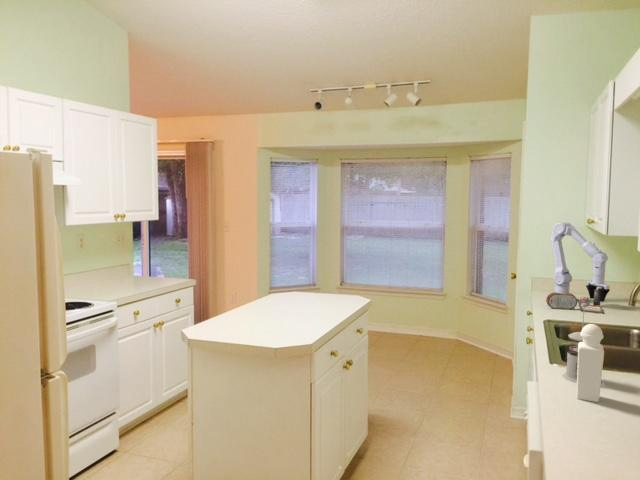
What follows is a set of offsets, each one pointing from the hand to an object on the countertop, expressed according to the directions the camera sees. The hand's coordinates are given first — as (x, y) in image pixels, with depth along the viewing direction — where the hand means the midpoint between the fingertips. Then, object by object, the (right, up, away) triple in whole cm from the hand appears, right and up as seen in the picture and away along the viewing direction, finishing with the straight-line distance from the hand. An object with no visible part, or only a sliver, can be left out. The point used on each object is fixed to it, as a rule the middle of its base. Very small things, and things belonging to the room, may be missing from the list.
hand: (596, 299), depth 273 cm
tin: (-22, -4, -6) cm, 23 cm away
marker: (0, -4, 0) cm, 4 cm away
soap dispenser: (-70, -14, -123) cm, 142 cm away
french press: (-64, -13, -107) cm, 126 cm away
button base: (-6, -3, +1) cm, 7 cm away
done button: (-6, -2, +1) cm, 7 cm away
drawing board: (-7, -4, -8) cm, 12 cm away
